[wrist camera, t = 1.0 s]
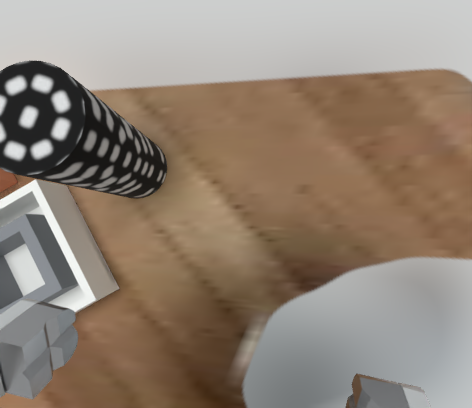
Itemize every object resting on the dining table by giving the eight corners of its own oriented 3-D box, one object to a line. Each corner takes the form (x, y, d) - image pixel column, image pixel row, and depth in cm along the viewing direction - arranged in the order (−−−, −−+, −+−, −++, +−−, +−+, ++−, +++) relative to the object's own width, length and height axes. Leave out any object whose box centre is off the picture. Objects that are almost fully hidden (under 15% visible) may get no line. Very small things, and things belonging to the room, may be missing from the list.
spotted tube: (154, 207, 41) (59, 191, 21) (98, 186, 41) (-45, 151, 22) (175, 150, 41) (102, 81, 21) (120, 130, 42) (-1, 45, 22)
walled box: (119, 288, 40) (96, 299, 34) (17, 346, 41) (-24, 367, 35) (66, 185, 42) (35, 179, 36) (-32, 242, 42) (-79, 245, 36)
